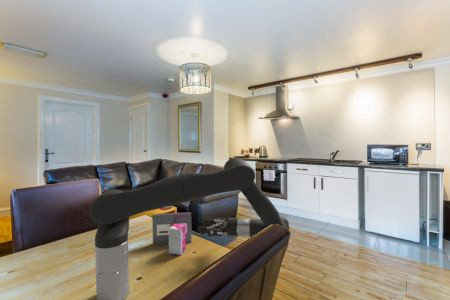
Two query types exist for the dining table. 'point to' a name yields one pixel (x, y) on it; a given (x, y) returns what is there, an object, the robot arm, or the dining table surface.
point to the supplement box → (177, 239)
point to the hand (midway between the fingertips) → (201, 225)
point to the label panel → (165, 222)
